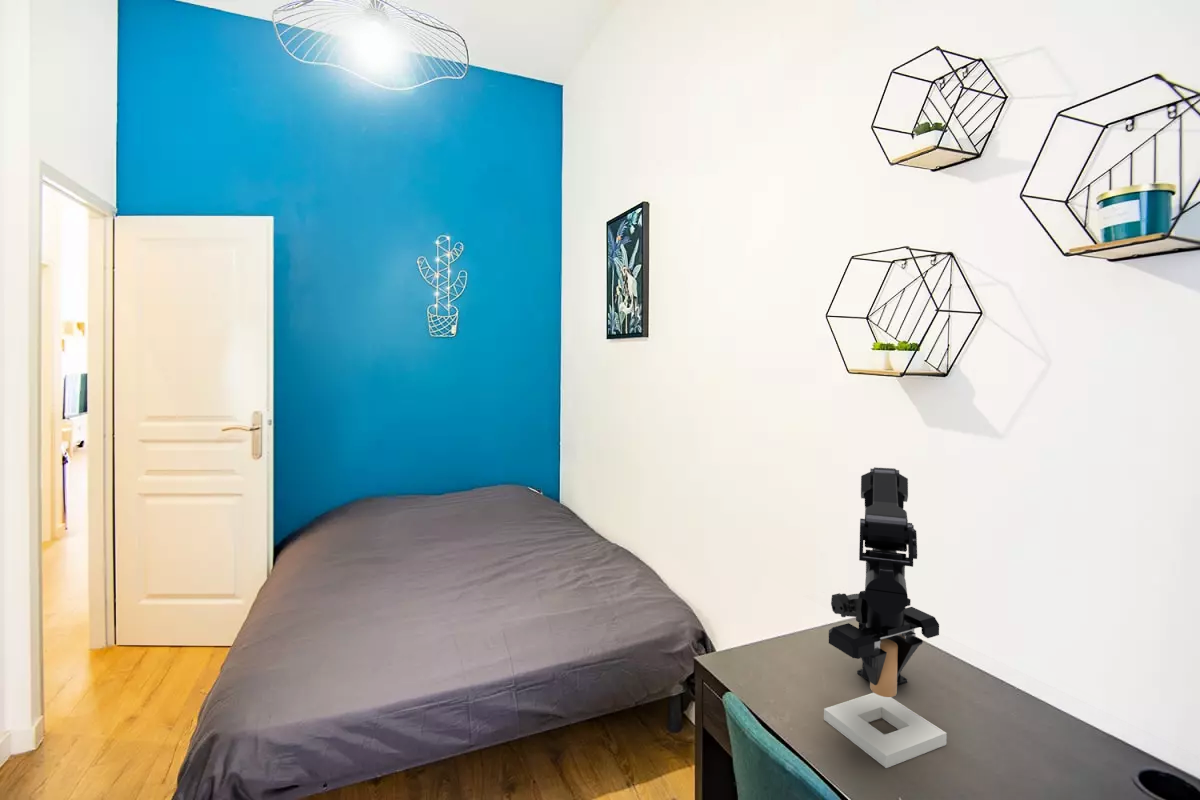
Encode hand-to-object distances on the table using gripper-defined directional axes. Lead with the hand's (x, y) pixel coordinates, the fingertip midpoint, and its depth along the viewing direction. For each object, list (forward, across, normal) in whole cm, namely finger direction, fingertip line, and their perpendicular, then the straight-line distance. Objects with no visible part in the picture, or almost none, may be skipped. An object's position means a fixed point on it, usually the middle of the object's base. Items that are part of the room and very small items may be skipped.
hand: (883, 680), depth 97 cm
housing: (+9, 0, 0) cm, 9 cm away
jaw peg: (+2, 0, 0) cm, 2 cm away
